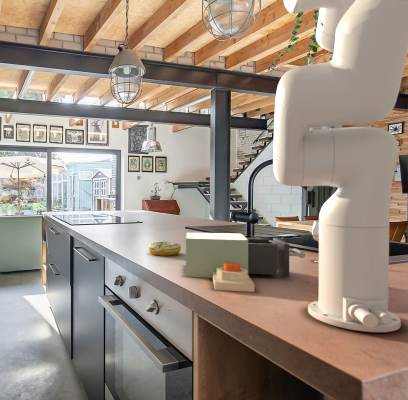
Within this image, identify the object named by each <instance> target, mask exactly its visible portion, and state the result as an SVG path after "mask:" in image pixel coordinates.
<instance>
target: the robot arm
mask: <svg viewBox="0 0 408 400" xmlns="http://www.w3.org/2000/svg"><path fill="white" fill-rule="evenodd" d="M283 5H284V8H285V10H286V11H287V12H288V13H289V14H297V13H298V14H299V13H303V12H307V11H314V10H318V18H317V23H316V30H315V41H316V43H317V45H319V46H320V47H321V48H322V49H324V50H326V51H328V52H331V53H333V54H332V58H331V59H330V60H329V61H327V62H321V63H313V64H307V65H300V66H297V67H293V68H290V69H289V70H287V71H286V72H285V73H284V74H282V76H281V77H280V79H279V82H278V84H277V87H276V93H275V100H274V124H273V125H274V126H273V149H272V150H273V154H272V165H273V167H272V168H273V174H274V177H275V179H276V180H277V182H278V183H279V184H281V185H284V186H287V187H301V188H302V189H303V191H304V192H305V204H306V205H307V208H312V209H314V208H315V207H316V192H315V190H314V187H332V188H333V189H332V190H331V192H330V195H331V196H330V197H329V198H328V199H327V200H326V201H325V202H324V203H323V205H322V206H321V208H320V210H319V214H318V221H319V242H318V260H319V263H318V299H317V300H314V301H312V302H310V303H309V304H308V305H307V312H308V314H309V315H310V316H311V317H312V318H313V319H316V320H317V321H319V322H321V323H323V324H324V323H325V324H327V325H331V326H333V327H338V328H341V329H346V330H351V331H357V332H358V331H359V332H365V333H391V332H396V331H397V330H399V329H400V328H401V326H402V321H401V320H402V319H401V318H400V317H399V316H398V315H397V314H395V313H393V312H392V311H389V278H390V277H389V272H390V271H389V270H390V269H389V267H390V213H391V212H390V211H391V209H390V207H391V193H392V186H393V180H394V175H395V172H396V171H395V170H396V166H397V162H398V155H399V144H398V140H397V138H396V137H395V136H394V134H393V133H391V131H388V130H387V129H384V128H380V127H376V126H352V125H361V124H368V123H370V124H371V123H374V122H378V121H381V120H383V119H386V118H387V117H388V116H389V115H390V114H391V113H392V112H393V110H394V108H395V106H396V103H397V100H398V97H399V93H400V89H401V85H402V80H403V75H404V71H405V67H406V61H407V56H408V0H283ZM350 125H351V126H350ZM343 126H349V127H343Z"/></svg>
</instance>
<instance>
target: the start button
mask: <svg viewBox="0 0 408 400" xmlns="http://www.w3.org/2000/svg"><path fill="white" fill-rule="evenodd" d="M224 271H229V272H240V263H236V262H225V263H224Z"/></svg>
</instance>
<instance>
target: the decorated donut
mask: <svg viewBox="0 0 408 400" xmlns="http://www.w3.org/2000/svg"><path fill="white" fill-rule="evenodd" d="M181 250H182V247H181V244H180V243H177V242H173V241H165V240H163V241H154V242H152V243H150V244H149V245H148V251H149V253H150V254H151V255H153V256H164V257H167V256H169V257H170V256H175V255H178V254H179V253H180V252H181Z"/></svg>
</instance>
